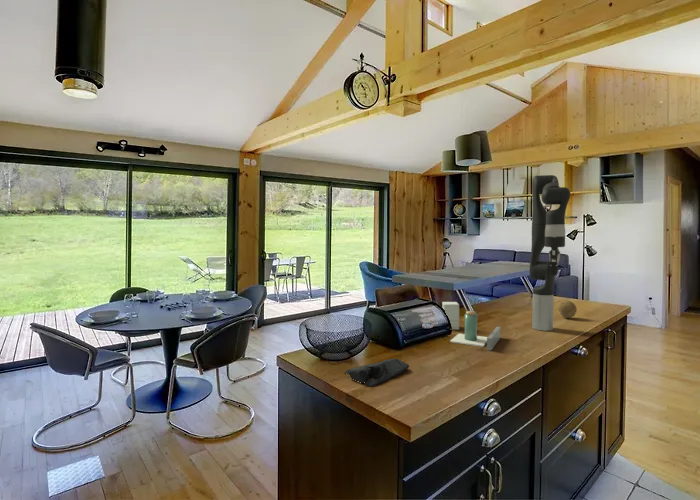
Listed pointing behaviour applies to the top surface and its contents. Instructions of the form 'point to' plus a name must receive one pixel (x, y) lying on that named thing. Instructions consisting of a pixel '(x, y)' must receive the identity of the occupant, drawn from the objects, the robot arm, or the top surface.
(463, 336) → the rubber mat
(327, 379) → the top surface
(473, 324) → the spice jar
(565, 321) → the top surface
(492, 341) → the low wall
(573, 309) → the natural sponge
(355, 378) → the dark slate chunk
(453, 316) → the supplement box
